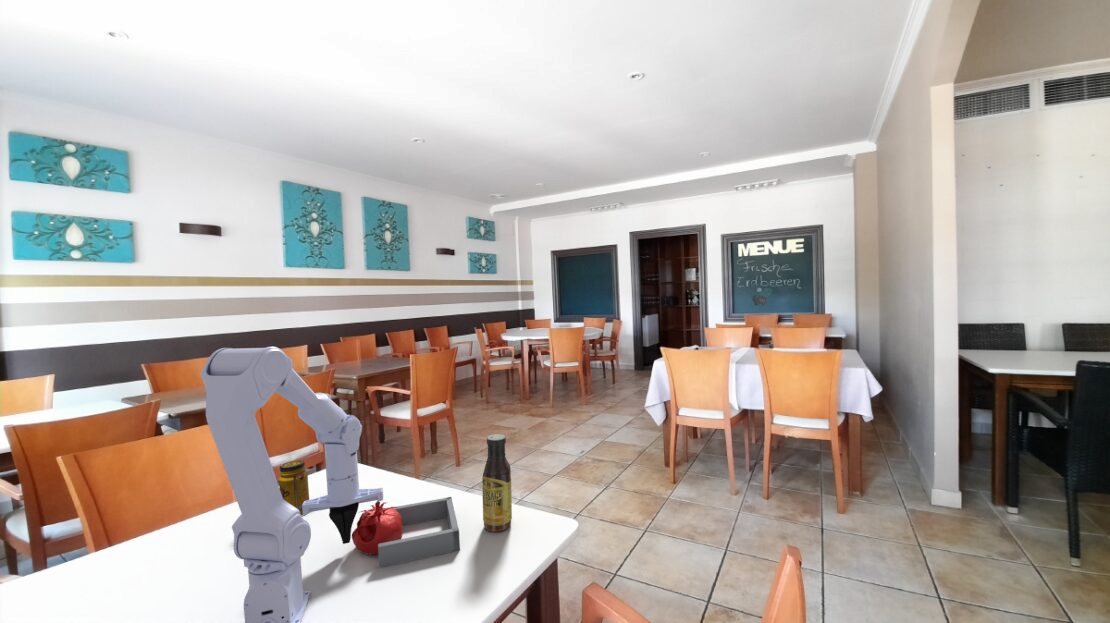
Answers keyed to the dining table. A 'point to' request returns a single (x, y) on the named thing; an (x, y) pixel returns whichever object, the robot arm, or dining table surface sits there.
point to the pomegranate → (377, 528)
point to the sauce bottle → (497, 486)
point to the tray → (423, 543)
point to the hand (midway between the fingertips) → (346, 540)
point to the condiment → (294, 483)
